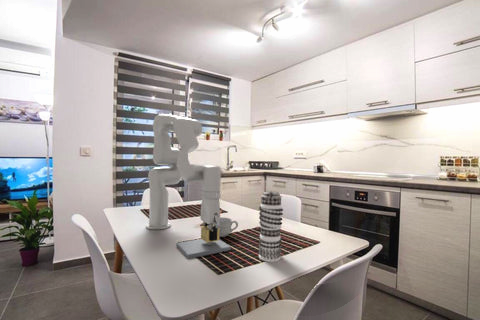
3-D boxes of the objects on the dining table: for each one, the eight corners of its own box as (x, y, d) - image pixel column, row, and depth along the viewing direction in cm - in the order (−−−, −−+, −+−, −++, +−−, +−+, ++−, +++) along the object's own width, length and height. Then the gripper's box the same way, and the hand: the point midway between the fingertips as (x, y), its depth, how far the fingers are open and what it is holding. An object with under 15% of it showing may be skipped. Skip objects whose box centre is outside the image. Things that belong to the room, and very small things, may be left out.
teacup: (205, 236, 115) (205, 219, 115) (215, 230, 125) (216, 215, 125) (231, 241, 110) (232, 223, 110) (240, 234, 120) (241, 218, 120)
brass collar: (200, 238, 103) (201, 226, 103) (213, 236, 106) (213, 225, 106) (206, 242, 98) (206, 230, 98) (219, 240, 101) (219, 228, 101)
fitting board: (176, 246, 101) (177, 225, 101) (215, 239, 111) (216, 220, 111) (187, 258, 90) (188, 234, 89) (230, 250, 99) (231, 228, 99)
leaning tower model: (265, 263, 87) (267, 194, 87) (253, 254, 95) (255, 190, 95) (286, 260, 91) (288, 193, 90) (273, 251, 99) (275, 190, 99)
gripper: (195, 192, 107) (194, 233, 107) (211, 198, 92) (210, 246, 92) (210, 191, 111) (209, 231, 111) (228, 197, 96) (227, 243, 96)
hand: (210, 237), depth 102 cm, fingers closed on brass collar, 5 cm apart
